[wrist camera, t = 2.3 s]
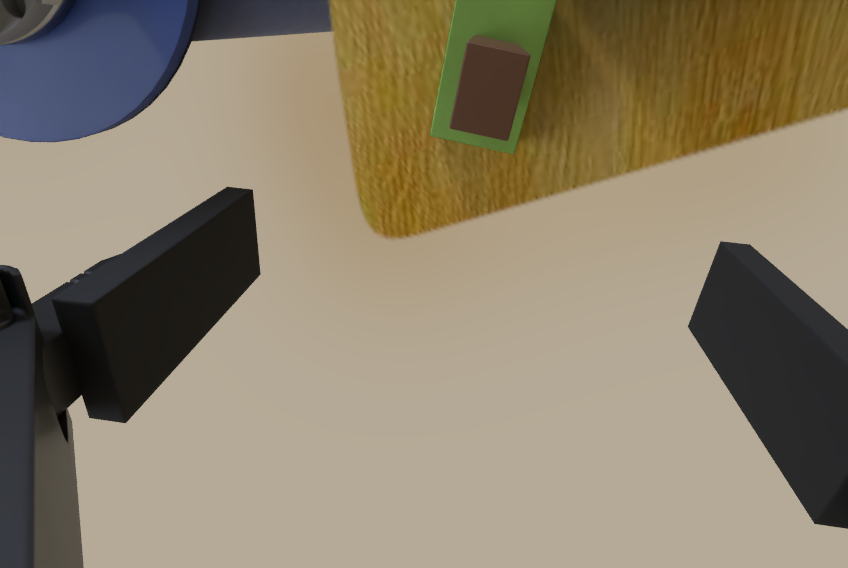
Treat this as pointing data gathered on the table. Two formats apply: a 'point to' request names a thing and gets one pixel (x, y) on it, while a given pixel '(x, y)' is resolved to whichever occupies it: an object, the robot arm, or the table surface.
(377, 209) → the table surface
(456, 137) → the sponge brush
